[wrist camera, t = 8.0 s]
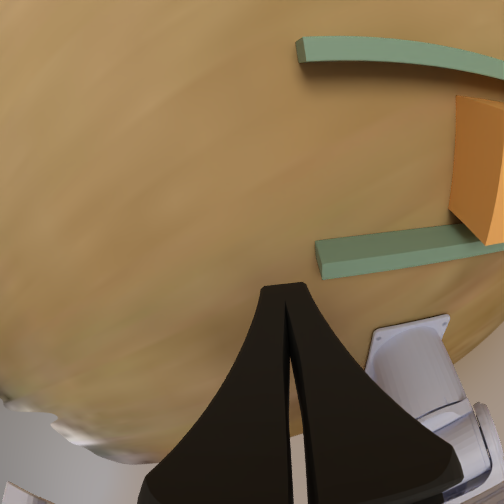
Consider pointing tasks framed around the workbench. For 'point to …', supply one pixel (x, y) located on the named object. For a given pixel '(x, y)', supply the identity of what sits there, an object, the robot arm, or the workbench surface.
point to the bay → (406, 241)
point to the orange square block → (479, 168)
